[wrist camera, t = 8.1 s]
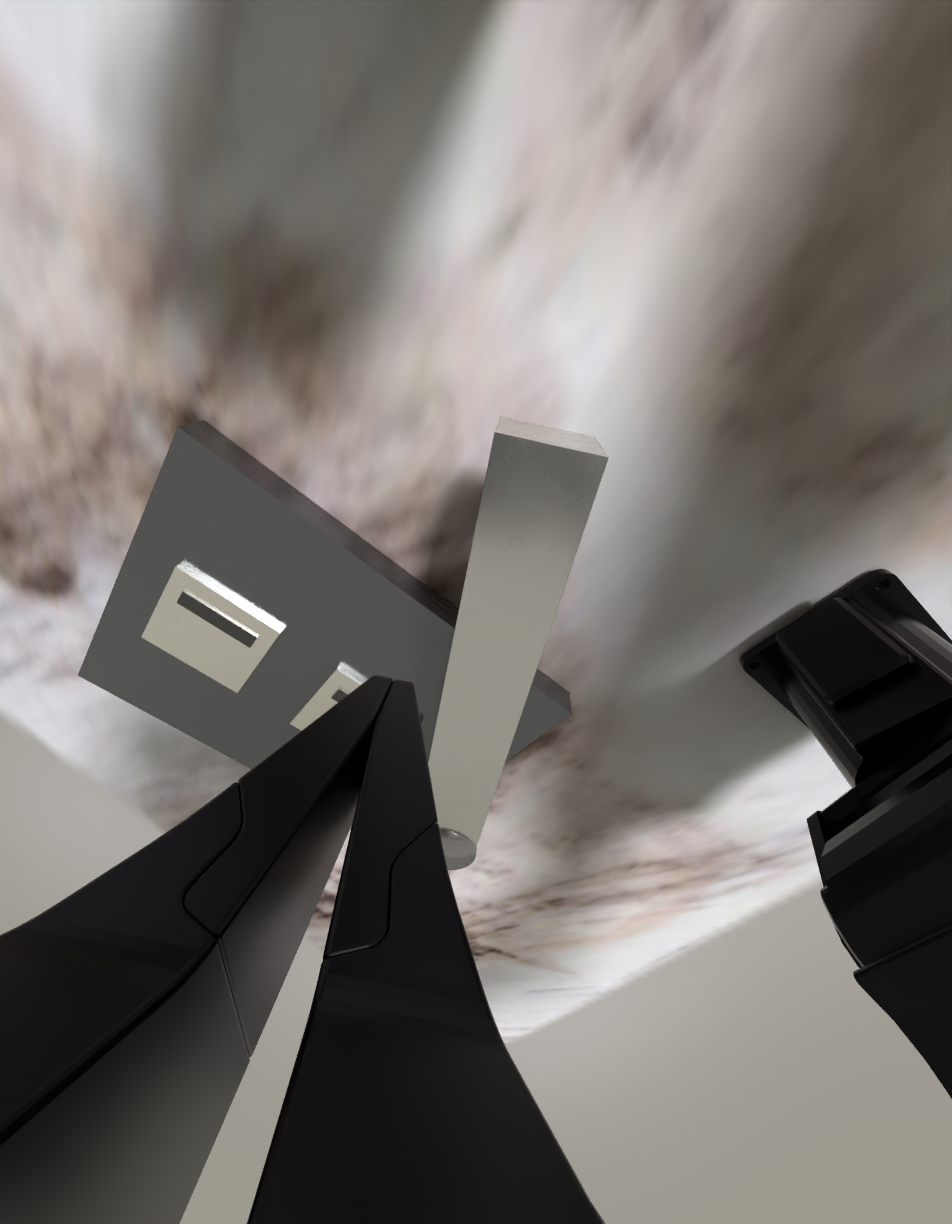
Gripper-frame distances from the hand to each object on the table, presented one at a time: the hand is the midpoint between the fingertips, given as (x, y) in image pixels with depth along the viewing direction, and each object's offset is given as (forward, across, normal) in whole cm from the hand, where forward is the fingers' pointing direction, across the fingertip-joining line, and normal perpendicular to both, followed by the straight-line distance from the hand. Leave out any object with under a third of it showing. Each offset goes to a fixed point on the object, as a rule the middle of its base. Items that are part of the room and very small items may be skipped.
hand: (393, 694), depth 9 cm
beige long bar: (+8, -2, +6) cm, 10 cm away
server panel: (+11, +6, +10) cm, 16 cm away
